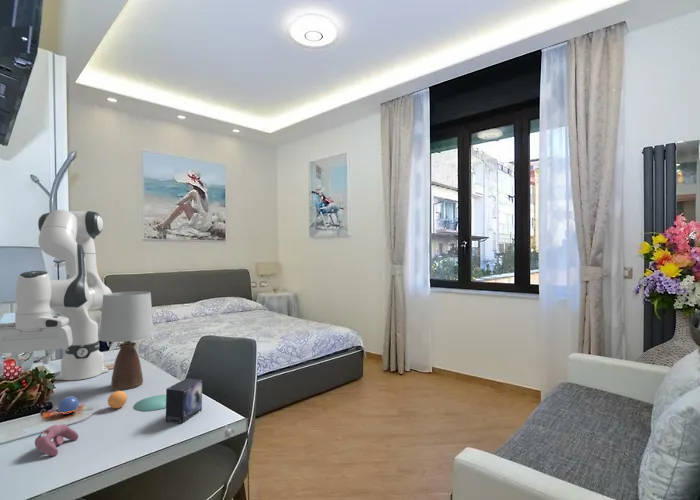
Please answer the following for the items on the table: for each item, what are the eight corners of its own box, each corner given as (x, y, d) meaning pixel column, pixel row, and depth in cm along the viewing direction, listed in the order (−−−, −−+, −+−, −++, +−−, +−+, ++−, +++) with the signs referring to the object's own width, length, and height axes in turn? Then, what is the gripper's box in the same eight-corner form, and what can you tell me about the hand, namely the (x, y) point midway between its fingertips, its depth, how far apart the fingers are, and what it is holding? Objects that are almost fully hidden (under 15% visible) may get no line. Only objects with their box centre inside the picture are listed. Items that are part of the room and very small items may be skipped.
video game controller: (66, 444, 105) (54, 423, 105) (81, 436, 106) (69, 415, 106) (40, 464, 96) (27, 440, 95) (57, 455, 96) (44, 431, 96)
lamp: (87, 390, 143) (88, 295, 144) (131, 375, 161) (131, 290, 161) (122, 396, 137) (123, 296, 137) (163, 380, 154) (164, 291, 155)
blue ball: (58, 413, 123) (58, 396, 123) (79, 409, 126) (79, 392, 126) (57, 419, 118) (57, 401, 118) (78, 414, 121) (78, 397, 121)
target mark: (131, 401, 133) (131, 400, 133) (174, 392, 141) (174, 392, 141) (135, 414, 121) (135, 414, 121) (181, 404, 129) (181, 404, 129)
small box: (183, 424, 114) (183, 390, 114) (164, 422, 116) (164, 388, 116) (203, 410, 125) (203, 379, 125) (186, 408, 126) (186, 377, 126)
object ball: (107, 407, 128) (107, 390, 128) (126, 403, 131) (126, 387, 131) (108, 412, 123) (108, 395, 123) (127, 408, 126) (127, 392, 126)
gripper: (-14, 325, 113) (-14, 371, 113) (67, 321, 120) (67, 364, 120) (-2, 322, 119) (-2, 365, 118) (74, 318, 126) (74, 358, 125)
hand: (33, 364), depth 119 cm, fingers open, 5 cm apart
